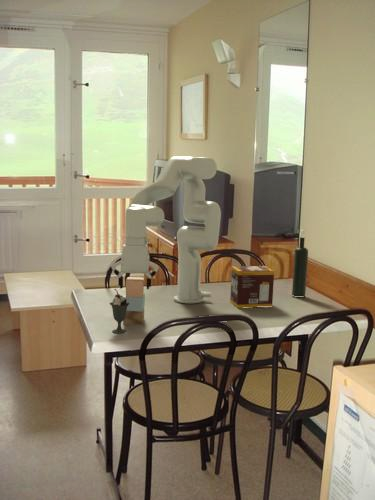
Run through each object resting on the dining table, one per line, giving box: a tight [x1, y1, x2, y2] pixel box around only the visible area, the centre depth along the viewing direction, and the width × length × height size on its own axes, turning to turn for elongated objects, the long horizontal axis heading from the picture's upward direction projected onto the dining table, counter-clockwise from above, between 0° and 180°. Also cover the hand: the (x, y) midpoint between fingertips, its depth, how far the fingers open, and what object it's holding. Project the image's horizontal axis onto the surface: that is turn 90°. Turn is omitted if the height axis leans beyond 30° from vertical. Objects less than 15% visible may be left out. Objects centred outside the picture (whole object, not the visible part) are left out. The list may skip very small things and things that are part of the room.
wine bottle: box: [291, 229, 309, 297], centre depth 264 cm, size 6×6×30 cm
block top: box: [123, 292, 146, 311], centre depth 218 cm, size 7×7×5 cm
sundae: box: [109, 288, 129, 335], centre depth 206 cm, size 7×7×15 cm
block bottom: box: [122, 308, 145, 326], centre depth 219 cm, size 7×7×5 cm
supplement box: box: [229, 265, 275, 309], centre depth 248 cm, size 10×15×16 cm
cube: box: [125, 276, 145, 297], centre depth 218 cm, size 6×6×6 cm
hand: (134, 288), depth 218 cm, fingers open, 9 cm apart
